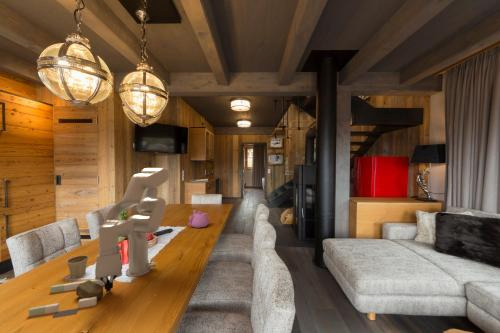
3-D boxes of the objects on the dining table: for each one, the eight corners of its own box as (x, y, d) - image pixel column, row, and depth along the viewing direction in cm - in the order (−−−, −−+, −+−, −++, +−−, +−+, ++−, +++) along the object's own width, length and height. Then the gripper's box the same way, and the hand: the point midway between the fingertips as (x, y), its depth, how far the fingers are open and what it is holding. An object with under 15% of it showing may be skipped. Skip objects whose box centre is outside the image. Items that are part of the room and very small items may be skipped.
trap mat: (80, 308, 91) (80, 307, 91) (76, 314, 88) (76, 313, 88) (56, 312, 89) (56, 312, 89) (51, 319, 85) (50, 318, 85)
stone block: (88, 289, 103) (89, 278, 103) (104, 297, 99) (105, 286, 99) (74, 295, 98) (75, 284, 98) (90, 304, 93) (91, 293, 93)
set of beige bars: (107, 283, 110) (107, 277, 110) (95, 305, 93) (95, 298, 93) (52, 292, 103) (52, 285, 103) (28, 317, 86) (28, 310, 86)
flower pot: (62, 280, 113) (62, 263, 112) (72, 271, 122) (71, 256, 122) (84, 278, 115) (83, 261, 115) (91, 269, 124) (91, 254, 124)
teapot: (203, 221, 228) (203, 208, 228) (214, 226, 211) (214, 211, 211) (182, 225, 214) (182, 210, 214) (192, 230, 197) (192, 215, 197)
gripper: (128, 246, 108) (128, 283, 109) (92, 249, 103) (92, 288, 103) (125, 251, 101) (125, 291, 102) (86, 256, 96) (86, 298, 96)
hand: (108, 290), depth 102 cm, fingers closed
